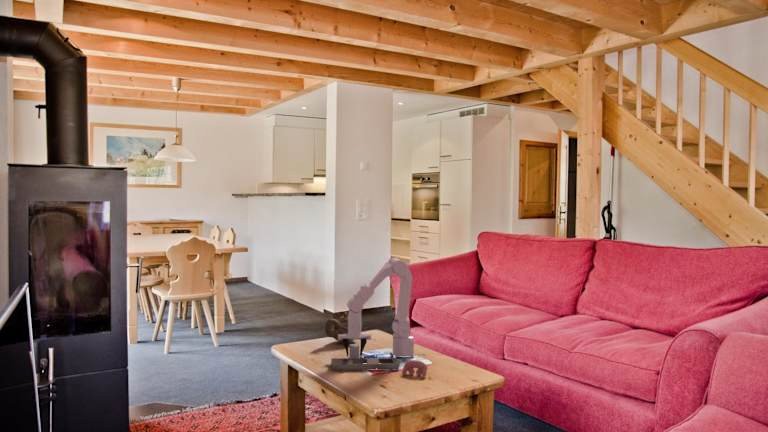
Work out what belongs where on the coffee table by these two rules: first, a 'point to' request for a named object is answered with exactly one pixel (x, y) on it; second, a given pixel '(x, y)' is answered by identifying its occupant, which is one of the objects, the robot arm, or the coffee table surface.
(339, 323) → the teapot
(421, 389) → the coffee table surface
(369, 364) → the rail
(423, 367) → the video game controller
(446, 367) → the coffee table surface
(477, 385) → the coffee table surface
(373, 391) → the coffee table surface
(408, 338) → the robot arm
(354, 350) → the peg
